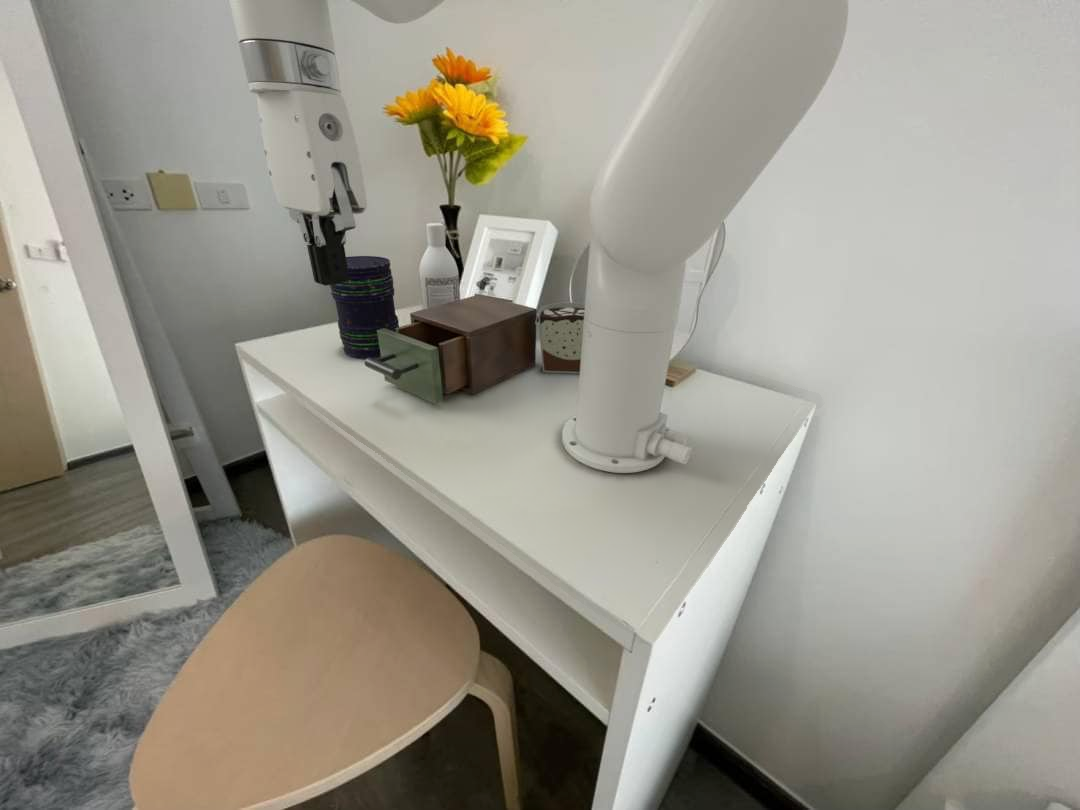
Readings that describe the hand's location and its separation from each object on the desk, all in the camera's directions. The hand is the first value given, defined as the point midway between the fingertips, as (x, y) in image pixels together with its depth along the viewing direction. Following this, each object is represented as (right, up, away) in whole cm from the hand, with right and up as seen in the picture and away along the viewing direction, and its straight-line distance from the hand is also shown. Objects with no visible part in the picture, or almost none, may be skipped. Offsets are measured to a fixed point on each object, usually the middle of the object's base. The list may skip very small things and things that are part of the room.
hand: (332, 281), depth 48 cm
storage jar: (-7, -4, +29) cm, 31 cm away
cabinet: (+13, -8, +23) cm, 27 cm away
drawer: (+7, -10, +16) cm, 21 cm away
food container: (+28, -7, +25) cm, 38 cm away
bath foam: (+4, 0, +36) cm, 37 cm away
